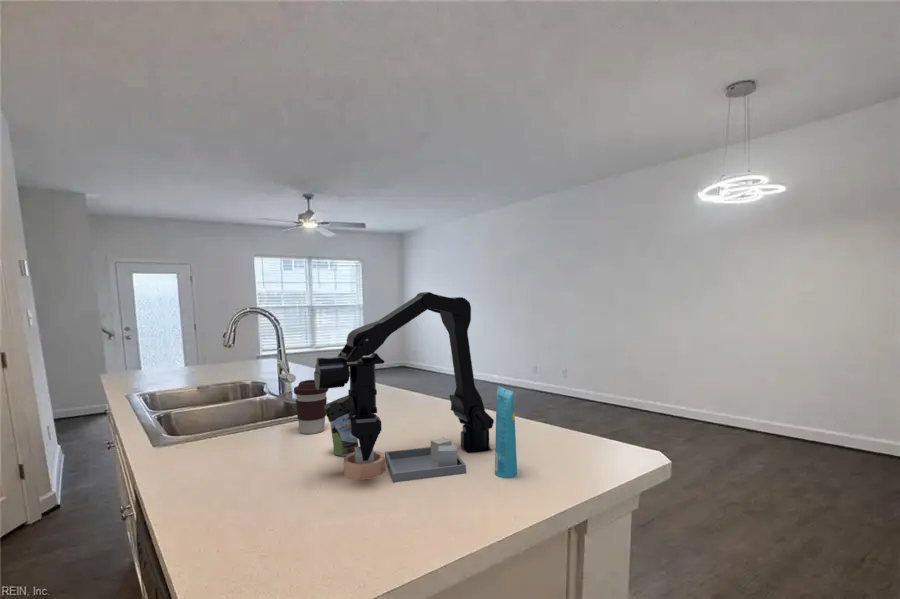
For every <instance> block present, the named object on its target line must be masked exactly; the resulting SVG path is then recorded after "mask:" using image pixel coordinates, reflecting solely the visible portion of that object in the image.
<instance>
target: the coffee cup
mask: <svg viewBox="0 0 900 599" xmlns="http://www.w3.org/2000/svg"><path fill="white" fill-rule="evenodd" d="M328 391H329V389H320V390H317V389H316V386H315V381H314V379H306V380H301V381H300V382H299V383H298V385H297V386H295V387H294V388H293V394H294V395H295V397H296V399H295V404H296V415H297V416H296V418H297V421H298V429H299V430H298V431H299V433H300V434H302V435H314V434H319V433H321V432H324V431H325V427H326V426H325V424H326V417H327V416H326V412H325V410H324V406H325V405H326V404H328V402H327V400H328V398H327V392H328Z"/></svg>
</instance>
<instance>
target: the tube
mask: <svg viewBox="0 0 900 599" xmlns="http://www.w3.org/2000/svg"><path fill="white" fill-rule="evenodd" d="M495 403H496V404H495V405H496V406H495V407H496V408H495V444H494V445H495V447H494V450H495V451H494V452H495V453H494V454H495V456H494V463H495V464H494V474H495V476H496V477H498V478H500V479H513V478H516V477H517V476H518V460H517V441H516V440H517V439H516V418H515V417H516V416H515V402H514V391H512V390H509V389H507V388H505V387H502V386H499V385H497V389H496V401H495Z"/></svg>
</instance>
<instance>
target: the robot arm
mask: <svg viewBox="0 0 900 599" xmlns="http://www.w3.org/2000/svg"><path fill="white" fill-rule="evenodd" d="M427 310H428V311H430V312H433V313H436V314H439V316H440V318H441V322H442V324H443V326H444V327H445V330H446V332H448V337H449V338H448V339H449V344H450V351H451V360H452V365H453V366H452V368H453V372H454V380H455V391H454V394H449V400H450V405H451V406H450V410H451V411H453V414H454V416H455V417H456V418H458V420H459V423H460V425H461V424H462V430H461V431H460V448H461V449H462V450H464V451H465V452H466V453H467V454H475V453H477V454H478V453H483V452H491V451H492V448H491V447H490V429H493V426H494V422H495V420H494V419H493V417H492V416H490V415H489V414H488V413H487V411H486V408H485V404H484V402H483V398H482V396H481V395H480V394H481V393H479V391H478V389H477V387H476V385H475V384H476V383H475V377H474V369H473V362H472V356H471V355H472V354H471V348H470V342H469V341H470V340H469V327H470V325H471V321H472V306H471V303H470V300H468V299H467V298H465V297H460V296H458V297H455V296H454V297H449V296H443V295H440V294H435V293H433V292H431V291H424V292H418V294H416V295H415V296H414V297H413V298H411V299H410V300H408V301H406V302H405V303H403V304H402V305H400V306H399V307H397V308H395V309H394V310H392V311H391V312H389V313H388V314H386V315H385V316H383V317H382V318H380V319H378V320H375V321H374V322H370V323H367V324H364V325H362V326H359V327H357V328H355V329H353V330H351V331H350V332H349V333H348V334H347V337H346V344H345V345H344V346H343V347H342V349H341V351H340V352H339V354H338V355H337V356H335V357H323V356H322V357H317V358H316V364H315V367H314V368H315V369H314V372H313V378H314V379H313V380H314V381H315V386H316V389H317V390H320V389H328V390H329V389H338V388H343V387H345V385H347V384H348V383H349V389H348V390H347V391H348V394H347V395H344V396H342V397H339V398H337V399H334V400H333V401H331V402H327V403H326V405H325V406H324V410H325V412H326V416H325V417H327V420H328V422H329V423H330V422H332V421H335V420H336V419H337V418H339V417H341V416H344V415H346V414H349V419H350V420H351V434H352V435H353V436H355V437H356V438H357V440H358V444H359V447H360V448H361V453H362V457H363V461H368V460H369V457H370V455H371V452H372V450H374V447H375V445H376V442H377V439H378V438H379V435H380V434H381V432H382V420H381V418H380V417H379V416H378V415H377V414H378V408H377V395H378V394H377V393H378V390H377V388H376V387H377V384H376V365H381V364H383V365H384V364H385V360H384V359H382V358H381V357H380V356H379V354H378V353H376V351H377V350H378V349H379V348H380V347H381V346H383V344H384V343H385V341H386V340H387V339H388V338H389V337H390V336H391V335H392V334H393V333H395V332H397V331H398V330H399V329H400V328H402V327H404V326H405V325H407V324H408V323H409V322H411V321H412V320H414V319H415V318H417V317H419V316H420V315H421V314H423V313H425V312H426V311H427Z"/></svg>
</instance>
